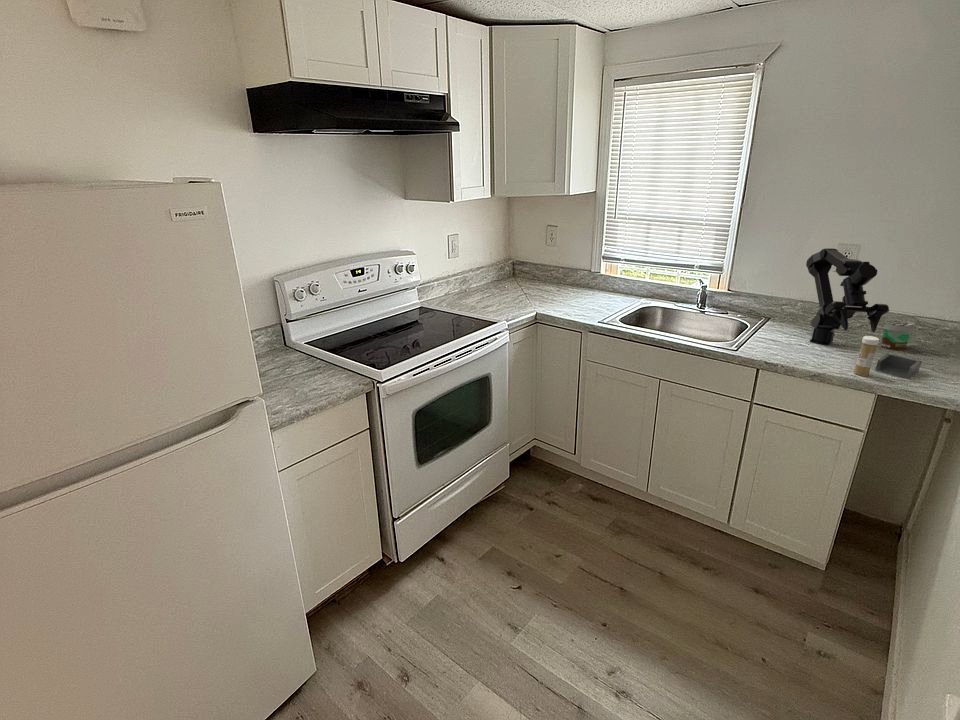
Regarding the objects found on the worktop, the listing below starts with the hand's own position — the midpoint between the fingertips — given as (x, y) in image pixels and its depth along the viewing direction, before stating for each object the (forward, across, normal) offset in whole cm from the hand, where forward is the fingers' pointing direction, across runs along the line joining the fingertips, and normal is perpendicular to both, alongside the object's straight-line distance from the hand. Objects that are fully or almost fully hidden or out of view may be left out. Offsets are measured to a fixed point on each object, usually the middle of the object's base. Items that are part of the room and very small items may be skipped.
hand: (859, 331), depth 183 cm
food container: (-4, -27, -22) cm, 35 cm away
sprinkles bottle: (+16, 0, -2) cm, 16 cm away
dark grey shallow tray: (+12, -13, -4) cm, 19 cm away
